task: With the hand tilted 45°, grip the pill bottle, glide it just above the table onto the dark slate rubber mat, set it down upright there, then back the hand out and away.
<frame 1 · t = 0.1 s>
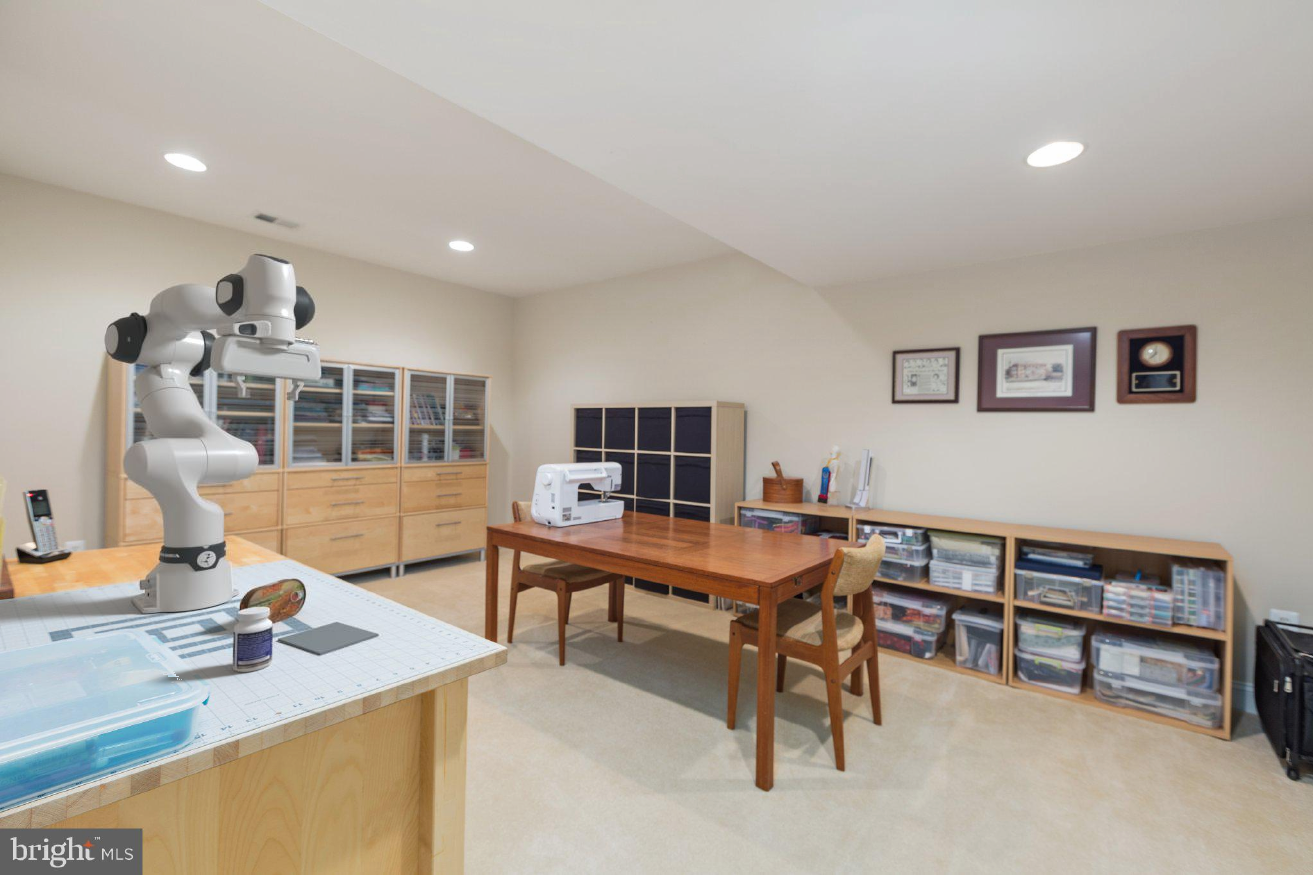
hand: (269, 399, 120), 48 cm above the table, tool pointing down, fingers open, 8 cm apart
pill bottle: (252, 667, 101), on the table
tin: (273, 622, 124), on the table
mat: (329, 638, 115), on the table
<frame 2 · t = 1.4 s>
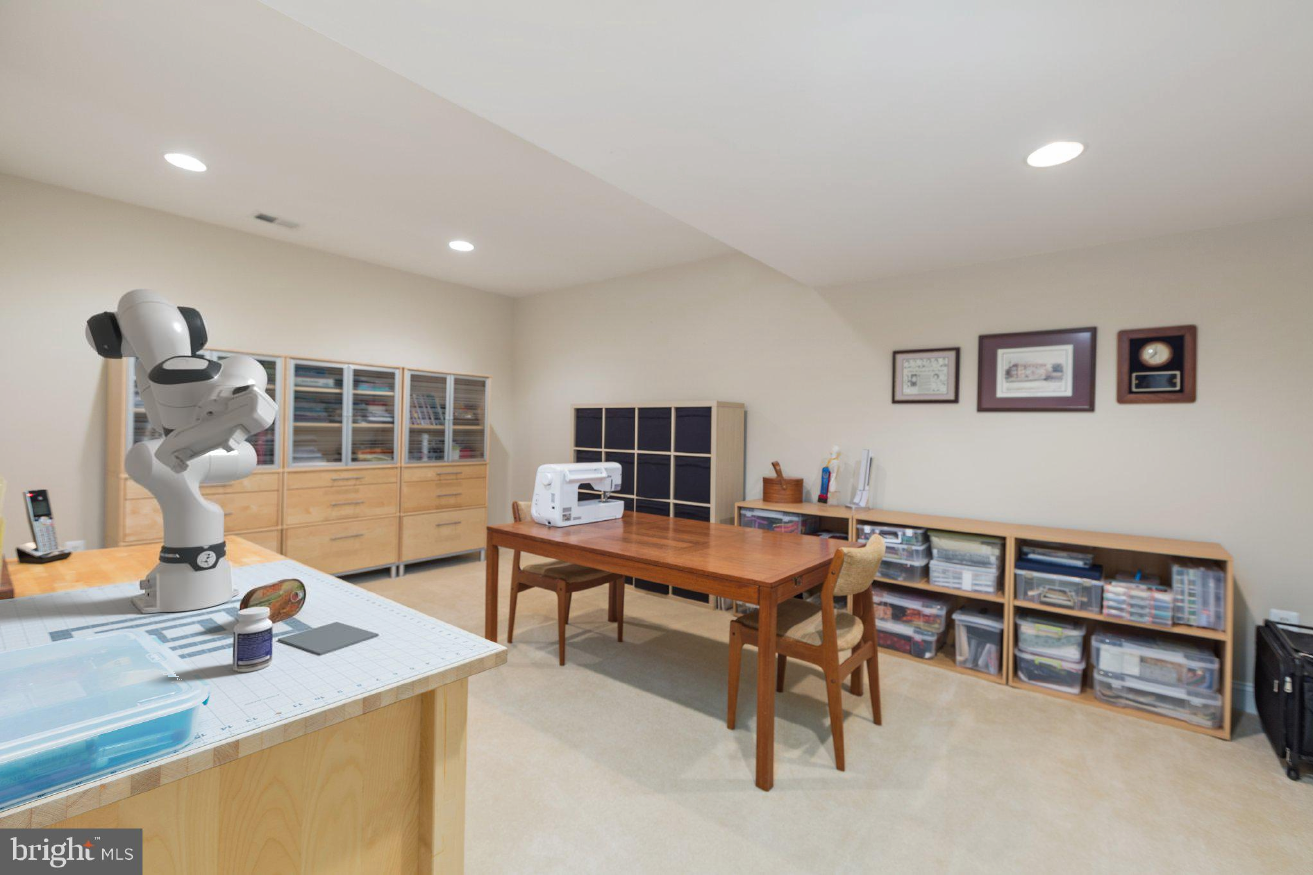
hand: (202, 459, 99), 36 cm above the table, tool tilted 55°, fingers open, 8 cm apart
nothing on the table moved.
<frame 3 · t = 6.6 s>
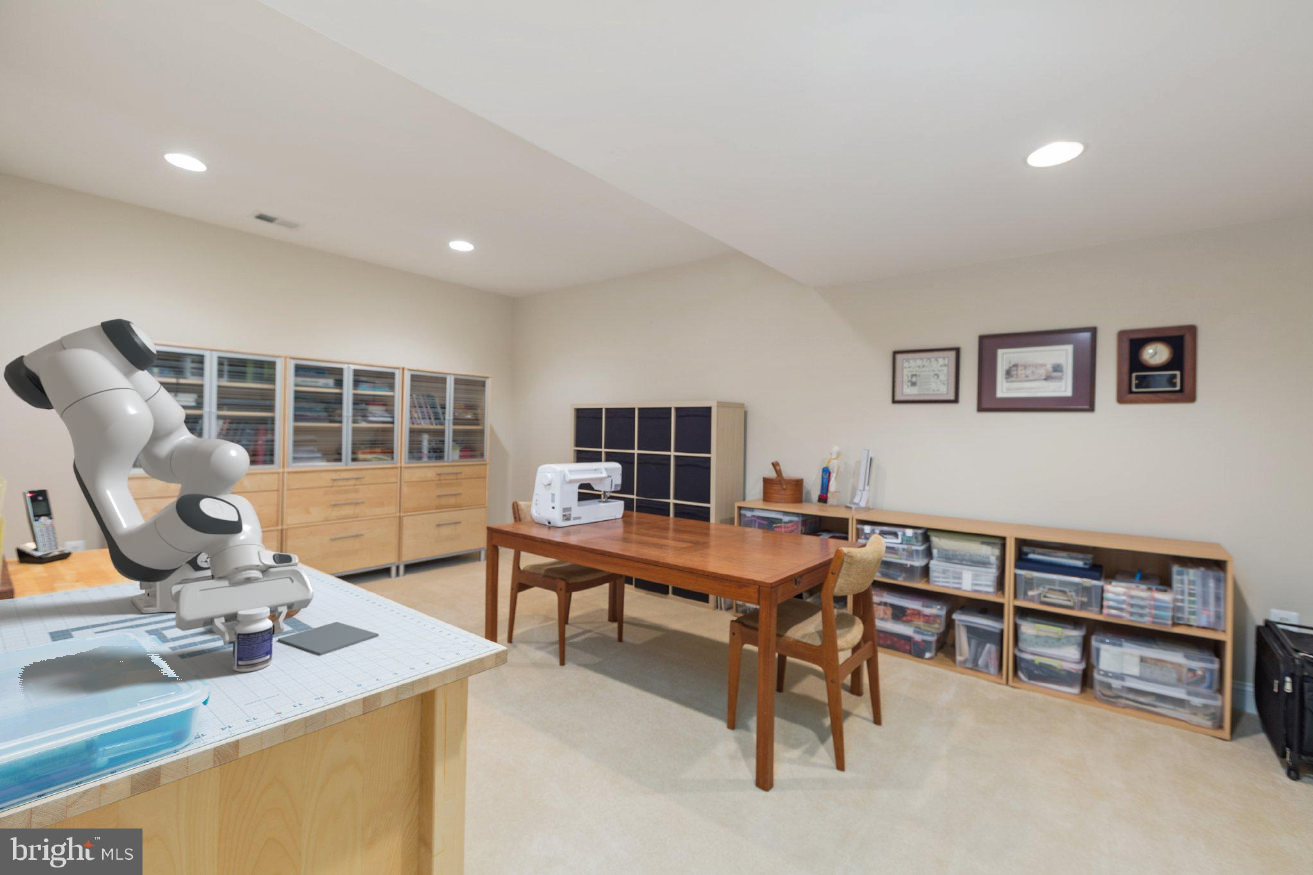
hand: (255, 637, 100), 5 cm above the table, tool tilted 45°, fingers closed on pill bottle, 6 cm apart
pill bottle: (252, 667, 101), on the table, touching gripper
everything else where it was.
when the fingers open (6 cm above the table, at t = 13.6 s): pill bottle stays where it is, resting on mat.
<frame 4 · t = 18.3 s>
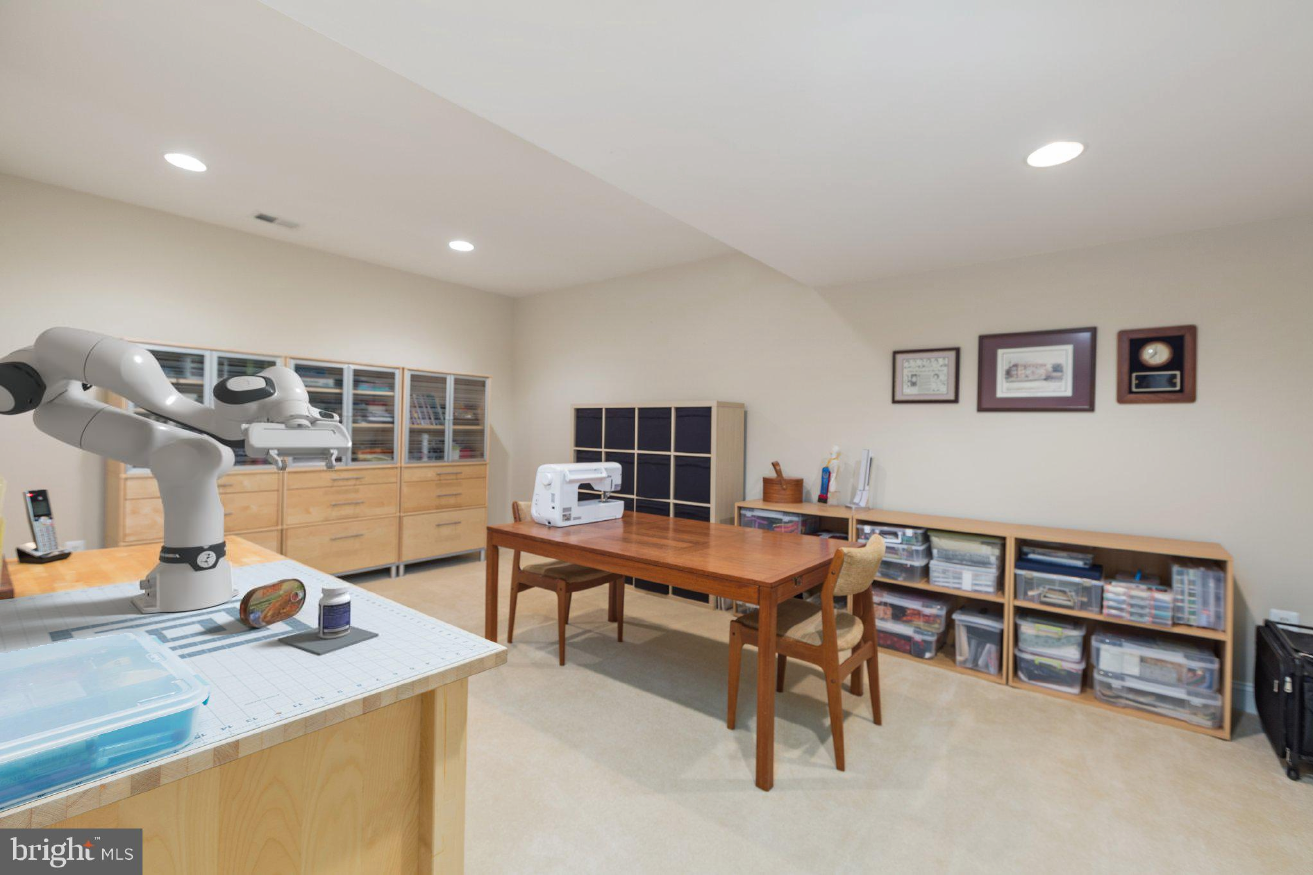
hand: (307, 468, 124), 33 cm above the table, tool tilted 45°, fingers open, 8 cm apart
pill bottle: (334, 635, 116), resting on mat
everything else where it was.
at the end: pill bottle inside the target area on the mat (1.1 cm from its centre), point 0.2 cm above the mat's base; pill bottle tilted 0°; the gripper is holding nothing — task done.
